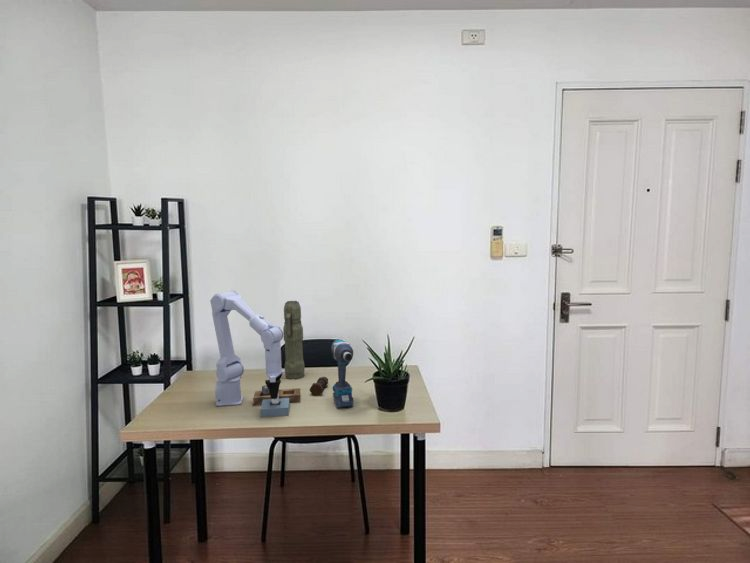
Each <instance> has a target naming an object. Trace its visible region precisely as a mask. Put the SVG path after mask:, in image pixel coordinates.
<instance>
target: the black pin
mask: <svg viewBox="0 0 750 563" xmlns="http://www.w3.org/2000/svg"><path fill="white" fill-rule="evenodd" d="M261 391H262V396H268V395H269V389H268V387H267V385H266V384H265V385H262V386H261Z"/></svg>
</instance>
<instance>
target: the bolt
mask: <svg viewBox="0 0 750 563" xmlns="http://www.w3.org/2000/svg"><path fill="white" fill-rule="evenodd" d="M328 384H329V378H328V377H326V376H321V377H319V378H318V379H317V381H316V382H314V383H312V384H311V386H310V388H309V393H310V394H311V395H312V396H314V397H319V396H320V397H321V396H322V394H323V392H324V390H325V388H327V387H328Z"/></svg>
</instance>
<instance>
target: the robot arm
mask: <svg viewBox="0 0 750 563" xmlns="http://www.w3.org/2000/svg"><path fill="white" fill-rule="evenodd" d="M209 302H210V307H211V314H212V315H211V316H212V320H213V326H214V331H215V336H216V341H217V346H218V351H219V357H220V358H219V359H218V360H217V362H216V364H215V365H216V371H215V375H216V378H217V380H216V382H215V386H214V387H215V403H216V404H215V406H216V407H220V406H222V407H223V406H234V405H235V406H236V405H237V406H238V405H241V404H242V402H243V400H244V396H242V391H241V388H242V386H241V379H242V375H244V373H245V368H244V365H243V363H242V360H241V358H240V357H239V356H238V355H237V354H236V353H235V350H234V345H233V344H234V343H233V339H232V334H231V329H230V323H229V317H228V316H229V314H230V313H231V311H236V312H237V313H238V314H240V315H241V316H242V317H243V318H244V319H246V320H247V321H249V322H248V324H249V327H250V328H252V329H253V330H254V331H255V332H256V333H257V334H258V335H259V336H260V340H261V342H262V343H263V348H264V354H265V355H264V356H265V358H264V359H265V375H266V376H267V377H268V378H269V379H265V380H264V381H265V385H267V387H268V389H269V392H270V396H271V399H277V397H278V391H279V390H280V386H281V383H282V380H281V379H282V376H283V374H285V369H282V367H283V366H282V349H281V341H282V340H284V335H283V330H282V328H281V327H280V326H277V325H276V326H275V325H273V323H271V322H269V321H268V320H267V319H266V318H265V316H264V315H262V314H256V313H255V312H254V311H253V310H252V309H251V308H250V307H249V305H247V303H246V302H245V301H244V300H243V296H242V294H240V293H239V292H237V291H236V290H231V291H226V292H220V293H215V294H214V295H213V296H212V297H211V299H210V300H209Z"/></svg>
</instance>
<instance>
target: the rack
mask: <svg viewBox="0 0 750 563" xmlns="http://www.w3.org/2000/svg"><path fill="white" fill-rule="evenodd" d="M278 393H279V399H281V398H289V403H290V404H294V403H295V404H297V403H301V388H282V389H279V391H278ZM265 399H271V396H270V392H269V395H268V396H262V390H255V391H254V395H253V397H252V402H253V406H261V405H262V401H263V400H265Z"/></svg>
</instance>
